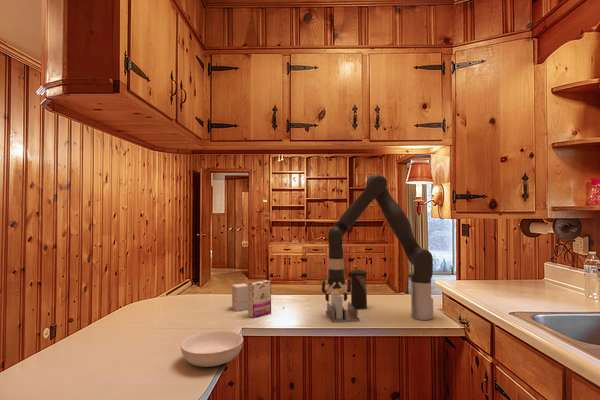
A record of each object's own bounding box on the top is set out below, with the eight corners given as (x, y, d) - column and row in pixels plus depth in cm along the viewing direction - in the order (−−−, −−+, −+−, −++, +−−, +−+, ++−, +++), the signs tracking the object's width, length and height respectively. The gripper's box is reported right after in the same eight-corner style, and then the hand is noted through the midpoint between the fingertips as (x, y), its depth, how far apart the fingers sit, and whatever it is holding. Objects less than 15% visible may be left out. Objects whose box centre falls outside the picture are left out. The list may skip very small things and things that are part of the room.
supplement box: (244, 306, 187) (244, 282, 187) (249, 309, 180) (249, 285, 181) (231, 308, 183) (231, 284, 183) (236, 311, 177) (236, 287, 177)
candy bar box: (265, 311, 177) (265, 279, 177) (271, 313, 173) (271, 281, 173) (247, 316, 169) (247, 282, 170) (253, 318, 165) (253, 284, 166)
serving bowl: (189, 349, 128) (189, 330, 129) (245, 347, 130) (245, 329, 130) (172, 376, 108) (172, 353, 108) (239, 373, 109) (239, 351, 109)
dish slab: (337, 311, 173) (336, 291, 174) (342, 318, 161) (342, 297, 162) (331, 311, 173) (331, 291, 173) (336, 318, 161) (336, 297, 162)
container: (363, 310, 178) (363, 271, 179) (347, 308, 183) (347, 270, 183) (369, 306, 185) (369, 269, 186) (354, 304, 190) (353, 268, 191)
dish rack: (350, 311, 176) (350, 301, 176) (359, 321, 160) (359, 310, 161) (325, 312, 175) (325, 302, 175) (332, 322, 159) (332, 311, 159)
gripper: (348, 266, 173) (348, 298, 172) (320, 266, 171) (320, 299, 170) (352, 268, 165) (352, 302, 165) (323, 269, 164) (323, 303, 163)
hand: (336, 301), depth 168 cm, fingers open, 8 cm apart
